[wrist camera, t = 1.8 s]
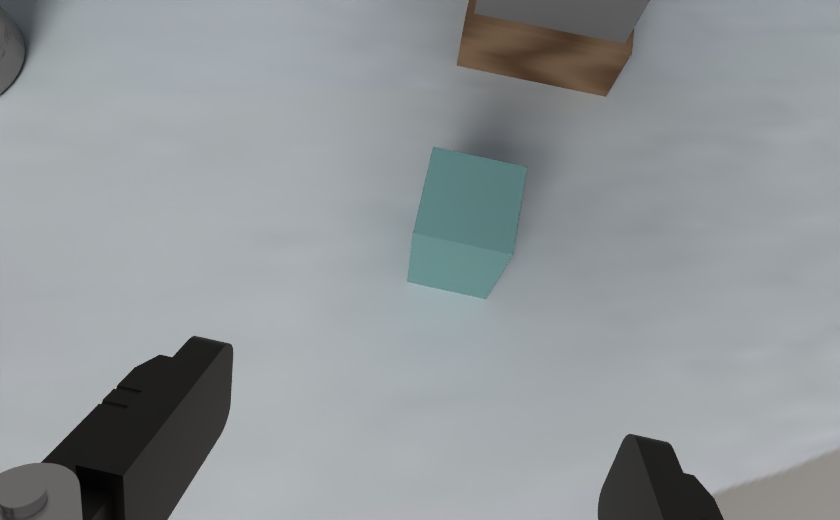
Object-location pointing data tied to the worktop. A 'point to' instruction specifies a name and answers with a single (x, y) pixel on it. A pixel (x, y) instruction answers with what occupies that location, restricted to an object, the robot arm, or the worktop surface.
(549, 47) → the tower bottom
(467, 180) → the teal block
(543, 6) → the tower top
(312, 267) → the worktop surface
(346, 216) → the worktop surface
